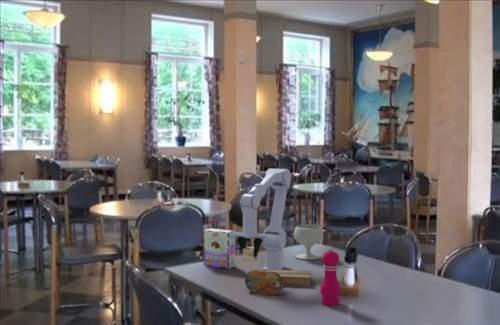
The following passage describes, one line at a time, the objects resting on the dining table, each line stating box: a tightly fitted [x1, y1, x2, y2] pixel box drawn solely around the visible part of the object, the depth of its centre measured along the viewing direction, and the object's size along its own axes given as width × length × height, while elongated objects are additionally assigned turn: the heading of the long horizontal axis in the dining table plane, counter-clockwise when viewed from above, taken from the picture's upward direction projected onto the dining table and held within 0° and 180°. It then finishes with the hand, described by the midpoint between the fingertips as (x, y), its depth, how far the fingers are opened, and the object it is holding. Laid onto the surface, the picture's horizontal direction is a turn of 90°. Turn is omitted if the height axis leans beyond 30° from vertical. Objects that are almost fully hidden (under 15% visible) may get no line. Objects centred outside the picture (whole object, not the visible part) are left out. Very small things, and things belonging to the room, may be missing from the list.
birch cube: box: [242, 246, 258, 263], centre depth 232 cm, size 4×4×5 cm
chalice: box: [293, 223, 324, 261], centre depth 270 cm, size 14×14×15 cm
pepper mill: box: [319, 246, 342, 307], centre depth 200 cm, size 7×7×20 cm
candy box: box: [203, 227, 236, 270], centre depth 253 cm, size 14×6×16 cm, turn 58°
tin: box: [244, 269, 284, 296], centre depth 213 cm, size 15×3×8 cm, turn 62°
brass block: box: [265, 269, 312, 287], centre depth 227 cm, size 10×18×4 cm, turn 81°
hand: (249, 256), depth 232 cm, fingers closed on birch cube, 4 cm apart
